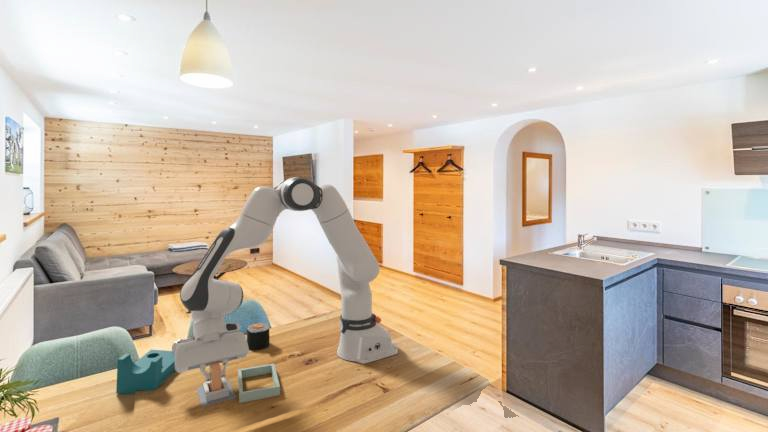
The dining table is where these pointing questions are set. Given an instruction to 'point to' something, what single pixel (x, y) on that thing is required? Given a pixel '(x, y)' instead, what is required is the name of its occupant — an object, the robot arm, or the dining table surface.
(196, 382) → the dining table surface
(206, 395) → the grey socket base plate
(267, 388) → the tray
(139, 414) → the dining table surface
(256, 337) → the sushi
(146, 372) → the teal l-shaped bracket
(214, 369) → the orange rectangular block
